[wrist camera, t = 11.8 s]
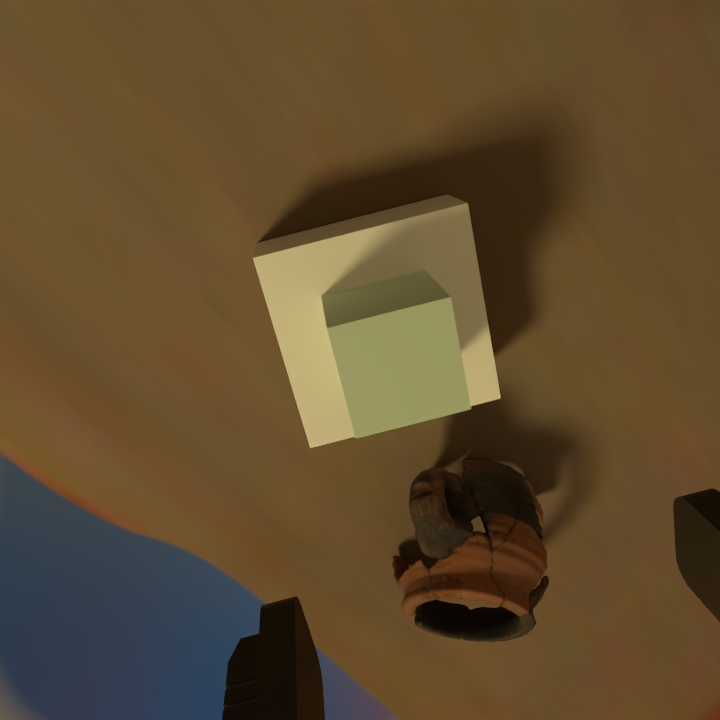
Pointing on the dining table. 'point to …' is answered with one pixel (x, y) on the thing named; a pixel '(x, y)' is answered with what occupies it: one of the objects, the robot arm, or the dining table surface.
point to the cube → (396, 352)
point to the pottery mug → (474, 553)
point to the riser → (362, 267)
